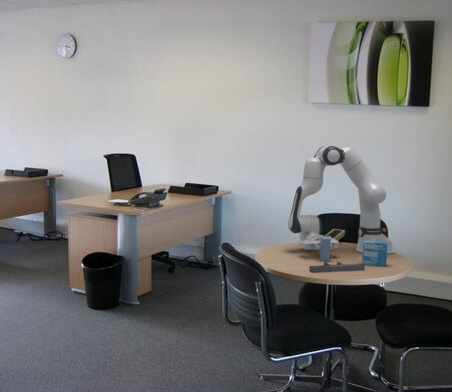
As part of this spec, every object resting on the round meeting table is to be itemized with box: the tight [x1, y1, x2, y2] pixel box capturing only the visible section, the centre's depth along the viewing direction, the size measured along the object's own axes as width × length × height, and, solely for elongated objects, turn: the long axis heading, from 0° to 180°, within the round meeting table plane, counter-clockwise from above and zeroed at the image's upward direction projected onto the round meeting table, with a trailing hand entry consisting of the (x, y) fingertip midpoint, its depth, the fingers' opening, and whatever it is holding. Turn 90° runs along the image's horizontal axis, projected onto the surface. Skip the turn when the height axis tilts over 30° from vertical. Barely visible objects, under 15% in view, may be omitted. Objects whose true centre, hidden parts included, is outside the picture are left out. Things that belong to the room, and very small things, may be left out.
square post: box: [319, 237, 331, 263], centre depth 280 cm, size 4×4×12 cm
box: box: [324, 228, 346, 241], centre depth 327 cm, size 8×22×5 cm, turn 147°
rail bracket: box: [308, 261, 366, 273], centre depth 264 cm, size 28×8×2 cm, turn 103°
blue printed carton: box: [361, 240, 388, 267], centre depth 274 cm, size 12×4×12 cm, turn 75°
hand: (325, 247), depth 279 cm, fingers closed on square post, 4 cm apart
